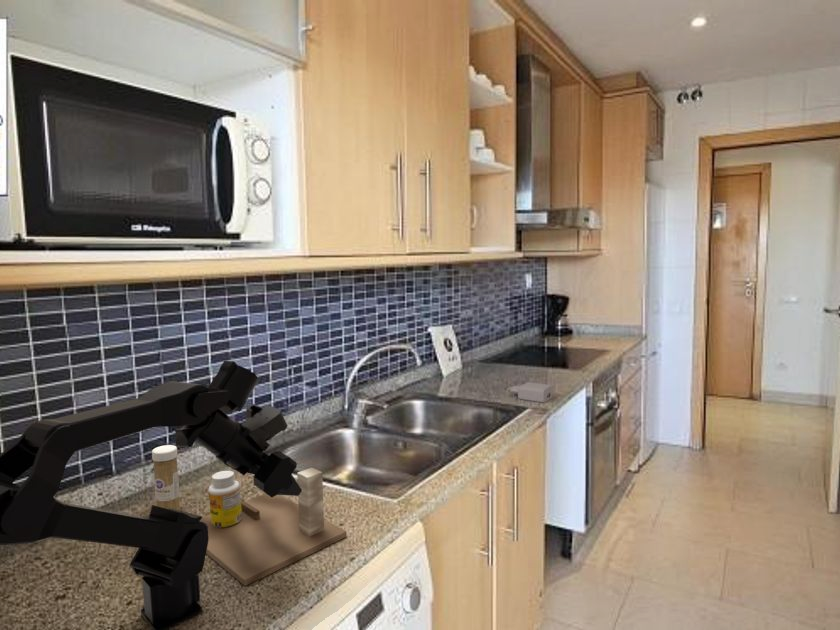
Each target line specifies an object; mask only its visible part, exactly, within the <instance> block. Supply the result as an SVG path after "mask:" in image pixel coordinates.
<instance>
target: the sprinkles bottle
mask: <svg viewBox="0 0 840 630" xmlns="http://www.w3.org/2000/svg"><path fill="white" fill-rule="evenodd" d="M151 459H152V461H153V462H152V463H153V473H154V495H155V502H156V503H155V506H159V507H163V508H167V509H168V508H172V509H176V510H179V511H182V510H181V509H182V507H181V503H180V501H181V500H180V482H179V470H178V447H177V446H176V445H173V444H165V445H161V446H157V447H155V448H153V449H152V450H151Z"/></svg>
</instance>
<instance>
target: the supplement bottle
mask: <svg viewBox="0 0 840 630" xmlns="http://www.w3.org/2000/svg"><path fill="white" fill-rule="evenodd" d="M235 479H236V478H235V472H234V471H232V470H222V471H218V472H215V473H213V474H212V475H211V484H210V486H209V487H208V499H209V501H208V502H209V510H210V513H209V514H211V524H212V526H213V527H216V528H228V527H232V526H235V525H237V524H239V523H240V522H241V521H242V509H241V500H242V498H241V488H240V487H241V486H240V483H239V481H237V480H235Z"/></svg>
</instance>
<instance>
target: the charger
mask: <svg viewBox="0 0 840 630" xmlns="http://www.w3.org/2000/svg"><path fill="white" fill-rule="evenodd" d="M507 390H508V391H510V392H511V393H512V394H516V395H517V397H518V399H519V400H522V401H529V402H535V403H542V404H545V403H547V402H548V401H549V400H551V399H552V398H554V385H552V384H545V383H538V382H525V383H523V384H522V385H514V386H509V388H507Z"/></svg>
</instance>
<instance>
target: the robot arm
mask: <svg viewBox="0 0 840 630" xmlns="http://www.w3.org/2000/svg"><path fill="white" fill-rule="evenodd" d="M258 382H259V377H258V376H257V374H256V373H255V372H252V371H250V370H249V369H247V367H246V368H245V367H243V366H241V365H240V364H239V365H238V364H237V363H236V362H235V360H234V361H233V360H223V362H222V363H221V365H220V367H219V370H218V371H217V373H216V375H215V376H214V378H213V379H212V381H211V382H210V384H209V385H208V386H207V385H205V384H202V383H201V384H199V383H190V382H182V381H175V380H173V381H172V380H170V381H167V382H166V381H165V382H163V383H162V384H159V385H157V386H155V387H154V386H153V387H152V388H150V389H149V390H148V391H145V393H144V394H143V395H141V396H140V397H137V398H134V399H130V400H126V401H123V402H122V401H121V402H117V403H114V404H110V405H106V406H101V407H98V408H94V409H90V410H89V409H88V410H84V411H81V412H77V413H73V414H68V415H64V416H61V417H56V418H52V419H51V418H50V419H49V418H48V419H47V418H46V419H45V418H44V419H40V420H38V421H35V422H33V423H31V424H30V425H29V426H28V427H27V428H26V429H25V430H24V432H23V433H22V434H21V436H20V437H18V439H17V440H16V442H14V443H13V444H11V445H10V446H9V447H7V448H6V449H5V450H4V451H2V452H1V453H0V546H11V545H12V546H13V545H20V544H22V545H23V544H34V543H35V544H36V543H38V542H41V541H44V540H49V539H53V538H55V539H61V540H62V539H64V540H72V541H79V542H80V541H81V542H88V543H89V542H90V543H95V544H97V543H98V544H105V545H112V546H121V547H129V548H137V550H136V553H134V556H133V558H132V559H131V561H130V563H129V566H130V567H131V570H132V572H133V574H134V575H137V576H142V579H141V582H142V595H143V604H144V607H143V608H141V609H140V615H141V616H142V617H143V620H145V621H146V622H147V624H148V625H149V626H150V628H151V629H153V630H169V629H170V628H172V627H174V626H176V625H178V624H180V623H183V622H184V621H187V620H188V619H191V618H192V617H194V616H196V615H199V614H200V613H202V612H203V606H202V605H200V603H199V602H200V601H201V591H200V575H199V574H200V573H202V572H203V569H204V567H205V560H206V556H207V554H206V551H207V546H208V540H209V538H208V525H207V524H206V523H204V522H201V521H200V520H201V519H202V517H203V516H202V515H198V514H194V513H191V512H187V511H182V510H180V511H179V510H176V509H172V508H168V509H167V508H163V507H159V506H156V504H155V505H154V504H152V505H151V507H150V508H151V509H150V513H149V514H147V515H145V516H143V515H142V516H138V515H135V514H134V515H133V514H129V513H123V512H117V511H111V510H106V509H101V508H96V507H90V506H85V505H79V504H73V503H68V502H62V501H61V500H59V499H56V498H55V495H56V494H57V492H58V491H59V489H60V486H61V483H62V480H63V476H64V474H65V473H64V472H65V469H66V466H67V464H68V462H69V461H70V459H71V458H72V456H73V455H74V454H75V453H76V452H78V451H82V450H85V449H88V448H92V447H95V446H97V445H98V446H99V445H102V444H105V443H109V442H111V441H115V440H118V439H121V438H123V437H127V436H131V435H133V434H137V433H140V432H143V431H148V430H151V429H155V428H162V427H167V428H168V427H181V428H177V429H175V430H174V433H175V445H174V446H176V447H177V448H178V447H179V448H181V447H182V448H192V447H193V445H194V444H195V442H196V443H198V444H199V445H201V446H202V447H203V448H204V449H206V450H207V451H209V452H210V453H211V454H213V456H215V458H216V459H217V460H218V461H220V462H221V463H223V464H224V465H226V466H227V467H228V468H231V469H232V470H234V471H236V472H237V473H239V474H241V475H242V476H245V475H246V474H250V475H253V486H255V487H256V488H257V489H259V490H261V491H262V492H263V493H264V494H267V495H269V496H270V497H274V496H276V495H282V496H291V497H292V496H295V497H296V496H297V497H298V496H299V494H300V493H301V492H302V489H301V488H300V486H299V485H298V482H297V480H296V478H295V477H294V475H293V473H294V471H295V470H296V469H297V467H298V466H297V465H298V462H297V461H296V460H294V459H292V457H290V456H289V455H286V454H285V453H283V452H282V451H280V450H278V451H273V452H271V453H270V454H267V453H266V451H267V449H268V448H269V447H270V443H268V442H267V441H271V439H273V438H274V437H276V436H277V435H278V434H279V433H280V432H284V431H285V430H286V429H287V428H288V427H289V426H288V423H287V421H286V419H285V417H284V415H283V413H282V411H281V409H279V408H276V407H274V406H271V405H263V408H262V407H261V406H259V405H257V404H255V403H252V404H250V405H249V406H248V407H246V411H245V412H246V413H245V415H246V416H245V422H243V423H242V424H241V423H240V422H238V421H235V420H234V419H233V418H231V417H230V416H229V415H228V414H233V413H234V412H241V411H242V410H243V408H244V407H245V404H246V403H247V401H248V399H250V396H251V394H252V393H253V391H254V389H255V388H256V385H258ZM29 469H31V470H30V473H29V475H28V476H27V478H26V479H25V481H24V482H23V483H22V485H20V484H17V483H14V482H15V481H16V480H17V478H20V477H21V475H23V474H24V473H26V472H27V471H28V470H29Z"/></svg>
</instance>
